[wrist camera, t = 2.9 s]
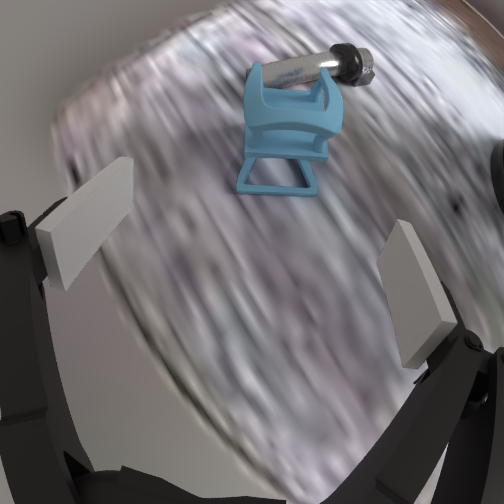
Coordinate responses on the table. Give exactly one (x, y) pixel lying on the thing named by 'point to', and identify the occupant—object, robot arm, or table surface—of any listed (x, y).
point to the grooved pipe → (308, 67)
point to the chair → (288, 128)
